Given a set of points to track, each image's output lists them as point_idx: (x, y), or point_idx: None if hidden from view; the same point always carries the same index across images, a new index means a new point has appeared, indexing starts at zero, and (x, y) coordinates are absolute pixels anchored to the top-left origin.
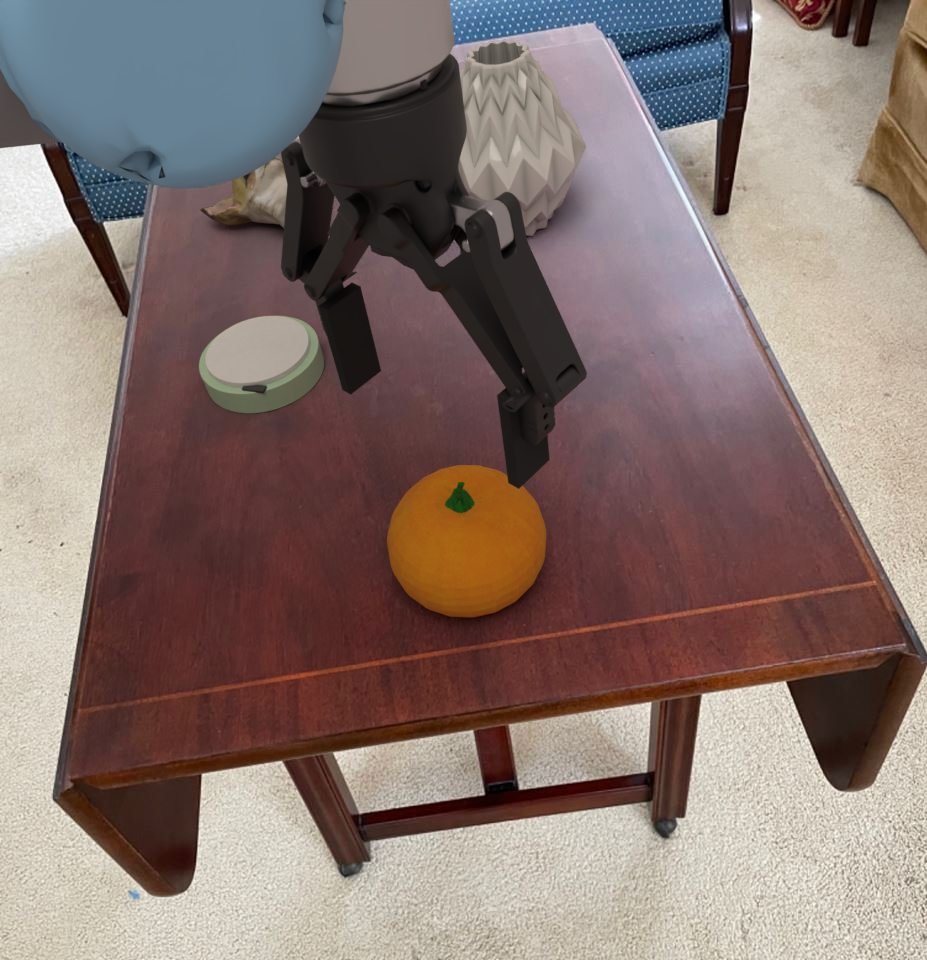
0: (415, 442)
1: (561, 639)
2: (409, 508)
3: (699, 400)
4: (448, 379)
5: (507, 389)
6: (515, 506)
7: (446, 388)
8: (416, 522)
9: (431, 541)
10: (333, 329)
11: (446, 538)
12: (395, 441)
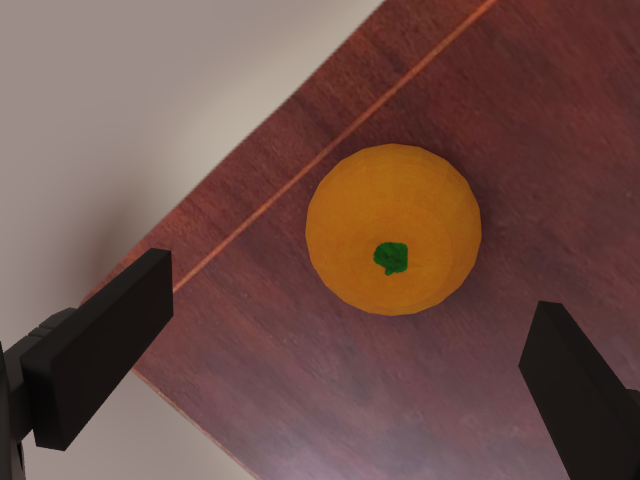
0: None
1: (273, 190)
2: (443, 221)
3: (314, 457)
4: None
5: (5, 380)
6: (335, 279)
7: None
8: (421, 207)
9: (390, 194)
10: (608, 408)
11: (374, 204)
12: None
